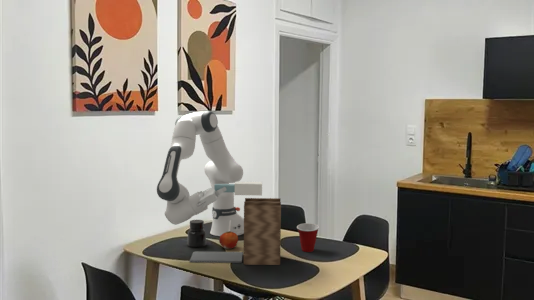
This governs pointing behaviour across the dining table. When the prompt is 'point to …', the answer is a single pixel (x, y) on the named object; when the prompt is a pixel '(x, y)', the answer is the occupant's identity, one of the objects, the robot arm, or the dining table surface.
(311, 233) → the plastic cup
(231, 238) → the tomato
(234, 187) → the block
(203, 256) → the mat
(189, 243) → the ink bottle
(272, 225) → the stand
